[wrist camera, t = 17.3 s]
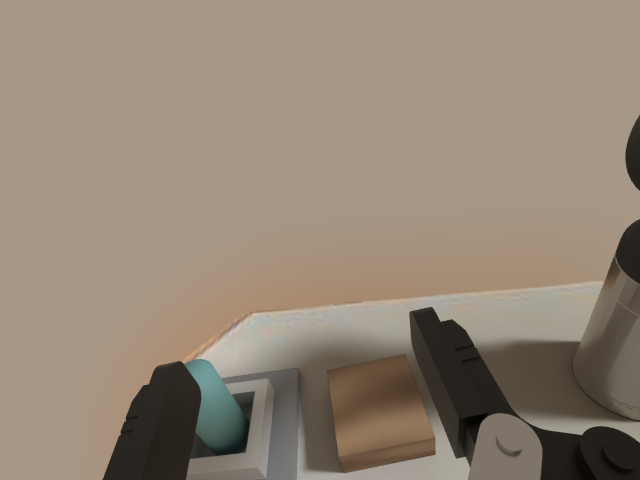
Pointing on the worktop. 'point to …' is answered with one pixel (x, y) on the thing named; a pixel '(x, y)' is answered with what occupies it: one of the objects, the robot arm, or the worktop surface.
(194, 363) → the peg
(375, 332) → the worktop surface
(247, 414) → the socket base
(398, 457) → the stand
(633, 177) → the robot arm
